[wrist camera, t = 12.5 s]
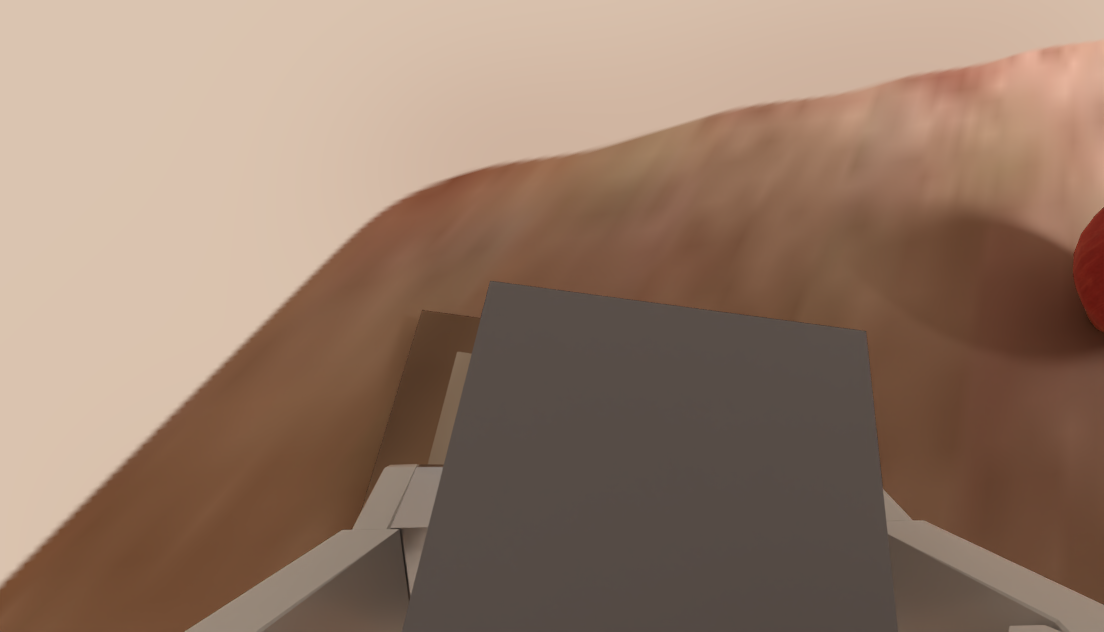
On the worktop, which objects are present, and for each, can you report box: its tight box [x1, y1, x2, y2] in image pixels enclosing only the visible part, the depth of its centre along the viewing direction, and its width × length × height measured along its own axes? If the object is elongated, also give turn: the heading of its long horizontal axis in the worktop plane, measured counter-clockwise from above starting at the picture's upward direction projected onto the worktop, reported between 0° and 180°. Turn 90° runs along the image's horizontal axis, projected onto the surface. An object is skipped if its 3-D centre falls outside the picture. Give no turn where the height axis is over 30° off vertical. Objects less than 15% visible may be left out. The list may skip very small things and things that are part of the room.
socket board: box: [361, 310, 481, 511], centre depth 14 cm, size 13×13×3 cm
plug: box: [402, 281, 898, 632], centre depth 9 cm, size 4×4×9 cm
